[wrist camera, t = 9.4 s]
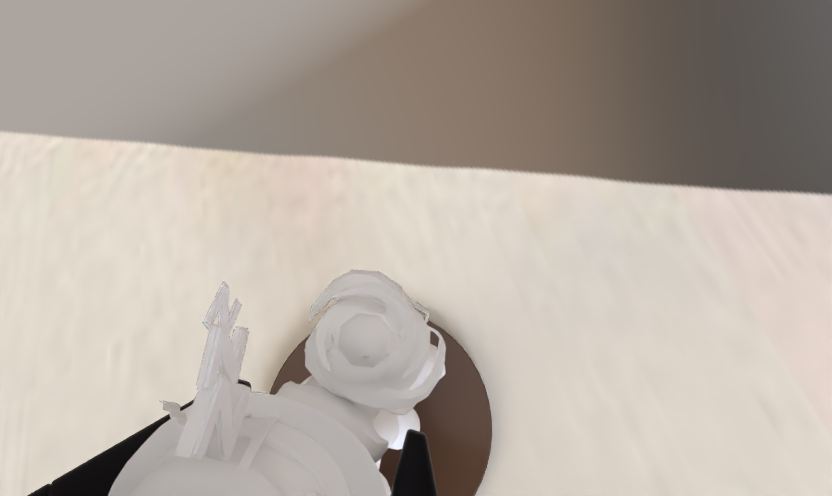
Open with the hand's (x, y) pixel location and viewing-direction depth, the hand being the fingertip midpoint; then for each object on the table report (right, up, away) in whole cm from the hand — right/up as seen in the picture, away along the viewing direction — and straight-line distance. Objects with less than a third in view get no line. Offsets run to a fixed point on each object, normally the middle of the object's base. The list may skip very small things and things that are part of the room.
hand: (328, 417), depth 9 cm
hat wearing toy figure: (0, -4, +6) cm, 7 cm away
